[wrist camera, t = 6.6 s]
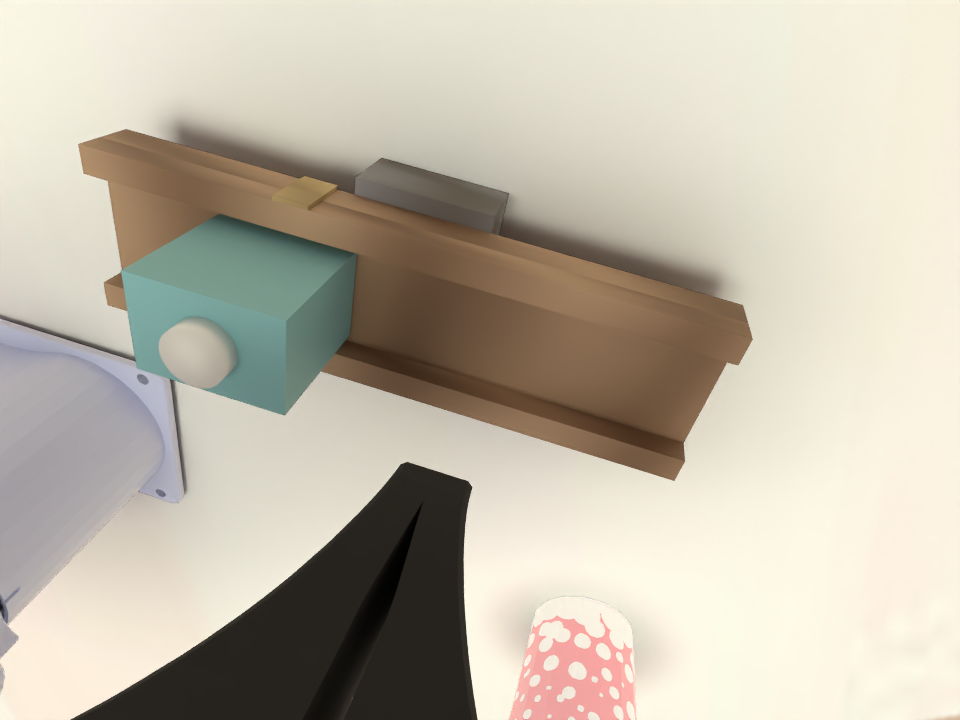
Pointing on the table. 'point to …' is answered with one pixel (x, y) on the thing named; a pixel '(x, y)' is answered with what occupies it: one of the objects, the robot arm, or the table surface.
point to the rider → (240, 310)
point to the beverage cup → (577, 664)
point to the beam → (456, 299)
